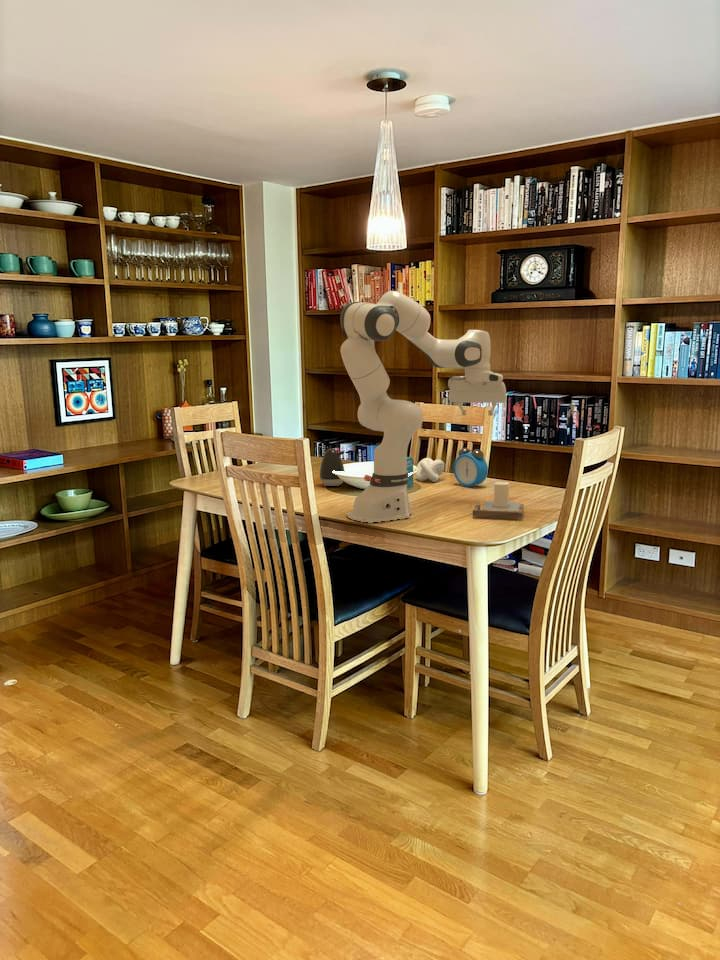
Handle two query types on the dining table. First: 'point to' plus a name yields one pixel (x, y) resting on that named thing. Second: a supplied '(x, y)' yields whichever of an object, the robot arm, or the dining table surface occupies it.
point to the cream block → (501, 494)
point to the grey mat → (511, 507)
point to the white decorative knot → (429, 469)
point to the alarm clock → (470, 467)
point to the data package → (410, 469)
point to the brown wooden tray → (497, 514)
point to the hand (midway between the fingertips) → (477, 415)
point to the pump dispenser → (331, 468)
